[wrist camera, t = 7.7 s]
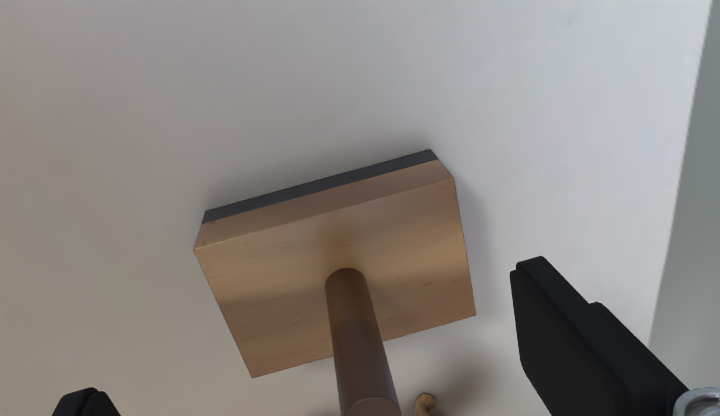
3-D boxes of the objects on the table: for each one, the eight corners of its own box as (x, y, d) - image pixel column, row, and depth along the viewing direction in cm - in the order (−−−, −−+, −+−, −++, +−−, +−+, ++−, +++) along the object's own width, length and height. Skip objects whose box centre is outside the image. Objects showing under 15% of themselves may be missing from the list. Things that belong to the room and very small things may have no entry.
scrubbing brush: (430, 148, 26) (453, 273, 29) (205, 210, 25) (255, 329, 29) (535, 274, 15) (550, 448, 19) (147, 384, 15) (238, 538, 18)
